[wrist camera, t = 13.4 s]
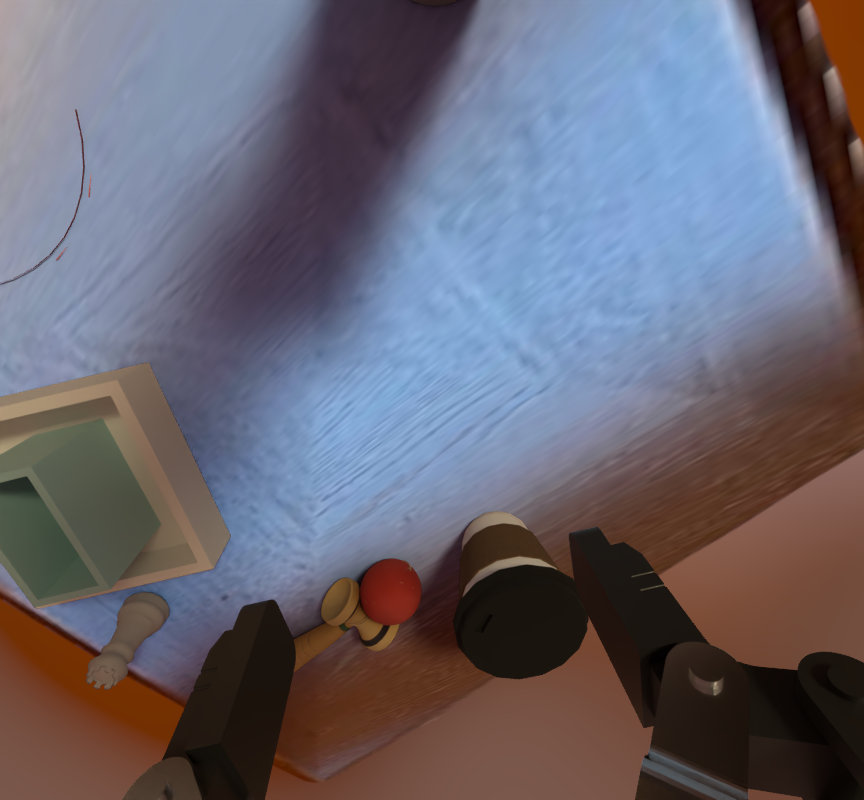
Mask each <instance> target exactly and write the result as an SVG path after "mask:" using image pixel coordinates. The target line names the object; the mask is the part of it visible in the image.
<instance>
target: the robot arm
mask: <svg viewBox="0 0 864 800" xmlns="http://www.w3.org/2000/svg"><path fill="white" fill-rule="evenodd" d="M412 1H414V2H416V3H418V4H424V5H430V6H438V5H448V4H450V3H453V2H456V1H458V0H412ZM569 542H570V550H571V558H572V566H573V574H574V580H575V584H576V588H577V591H578V594H579V597H580V599H581V601H582V603H583V606H584V608H585V610H586V612H587V614H588V616H589V618H590V620H591V622H592V624H593V626H594V628H595V630H596V632H597V634H598V636H599V638H600V640H601V642H602V644H603V646H604V648H605V650H606V652H607V654H608V656H609V658H610V661H611V663H612V664H613V667H614V668H615V670H616V673H617V675H618V677H619V679H620V681H621V683H622V685H623V687H624V689H625V691H626V693H627V695H628V697H629V699H630V701H631V703H632V705H633V707H634V709H635V711H636V713H637V715H638V718H639V720H640V722H641V724H642V726H643V728H647V727H651V726H654V728H653V733H652V740H651V745H650V749H649V753H648V755H646V756H645V757H644V759H643V763H642V767H641V771H640V776H639V781H638V786H637V792H636V797H635V800H748V789H754V790H761V791H767V792H773V793H779V794H785V795H791V796H798V797H802V799H803V800H864V663H863V662H861V661H859V660H857V659H854V658H852V657H849V656H846V655H842V654H838V653H832V652H816V653H812V654H809V655H807V656H805V657H804V658H803V659H802V660H801V661H800V663H799V666H798V670H789V669H778V668H767V667H758V666H751V665H747V664H744V663H741V662H738V661H736V660H735V659H734V658H733V657H732V656H731V655H729V654H728V653H727V652H725V651H724V650H722V649H719V648H718V647H715V646H713V645H710V644H709V643H708V642H707V640H706V639H705V638H704V637H703V636H702V634H701V633H700V631H699V630H698V629H697V627H696V626H695V625H694V623H692V621H691V619H690V618H689V617H688V615H687V614H686V613H685V611H684V610H683V609H682V607H681V606H680V605H679V603H678V602H677V600H676V599H675V598H674V596H673V595H672V594H671V592H670V591H669V590H668V588H667V587H665V586H664V583H663V582H662V580H661V579H660V578H659V576H658V575H657V574H656V573H655V572H654V570H653V568H652V567H651V566H650V564H649V563H648V561H647V560H646V559H645V557H644V556H643V555H642V554H641V553H640V552H638V551H637V550H635V549H633V548H632V547H630V546H629V545H627V544H626V543H624V542H623V543H618V544H614V545H610V543H609V542H608V540H607V539H606V537H605V536H604V534H603V533H602V531H601V530H600V529H599V528H598V527H594V528H590V529H585V530H581V531H576V532H572V533H570V534H569ZM295 662H296V649H295V643H294V640H293V637H292V635H291V633H290V631H289V628H288V626H287V624H286V622H285V620H284V618H283V615H282V613H281V611H280V609H279V607H278V605H277V603H276V601H274V600H267V601H263V602H258V603H254V604H250V605H245V606H244V607H242V609H241V611H240V613H239V615H238V618H237V620H236V623H235V625H234V628H233V630H229V631H225V632H224V633H223V634H222V636H221V637H220V638H219V639H218V641H217V642H216V643H215V644H214V646H213V647H212V648H211V650H210V651H209V653H208V656H207V658H206V660H205V662H204V665H203V667H202V669H201V675H199V676H198V679H197V681H196V683H195V686H194V691H193V692H191V695H190V697H189V699H188V702H187V704H186V706H185V709H184V711H183V713H182V716H181V718H180V720H179V722H178V725H177V727H176V729H175V732H174V734H173V736H172V739H171V741H170V743H169V745H168V748H167V750H166V753H165V755H164V757H163V759H162V761H160V762H158V763H157V764H155V765H153V766H152V767H151V768H149V769H148V770H147V771H146V772H144V773H143V774H142V775H141V776H140V777H139V778H138V779H137V780H136V781H135V782H134V783H133V785H132V786H131V787H130V788H129V790H128V791H127V793H126V794H125V796H124V798H123V799H122V800H265V796H266V792H267V787H268V783H269V778H270V774H271V769H272V765H273V761H274V756H275V752H276V747H277V743H278V739H279V734H280V730H281V725H282V721H283V716H284V712H285V708H286V703H287V699H288V694H289V690H290V686H291V681H292V677H293V672H294V668H295Z"/></svg>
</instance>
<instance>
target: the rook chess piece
mask: <svg viewBox="0 0 864 800" xmlns="http://www.w3.org/2000/svg"><path fill="white" fill-rule="evenodd" d="M168 616H169V607H168V605H167V603H166V601H165V600H164V599H163V598H162V597H161V596H160V595H157V594H155V593H152V592H141V593H136V594H133V595H131V596H130V597H128V598H126V600H125V601H124V603H123V606H122V607H121V608H120V610H119V612H118V615H117V617H118V621H117V628H116V631H115V633H114V635H113V637H112V639H111V640H110V642H109V643H108V644H107V645H105V646H104V647H103V648H102V650H101V655H100V656H97V657H95V658H94V659H92V660H91V661H90V662H89V664H88V671H89V672H88V673H87V675H86V676H87V677H88V678H87V680H86V681H87V683H88V684H90V683H92V681H95V682H96V684H95V685H94V688H96V689H99V688H100V687H101V685H102V684H103V685H105V687H104V689H105V690H106V689H111V687H112V686H115V685H116V683H117V682H118V681H120V680H122V679H124V678H125V677H126V675H127V674H128V667H127V664H128V663H130V662H132V660H133V659H134V653H135V651H136V650H137V648H138V647H139V646H140V645H141V643H142V642H143V641H144V640H145V639H146V638H147V637H149V636H151V635H152V634H153V633H155V632H156V631H158V630H159V629H160V628H161V627H162V625H163V624H164V622H165V621H166V619H167V618H168Z"/></svg>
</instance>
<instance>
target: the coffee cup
mask: <svg viewBox="0 0 864 800" xmlns="http://www.w3.org/2000/svg"><path fill="white" fill-rule="evenodd" d="M587 623H588V614H587V612H586V610H585V608H584V606H583V603H582V601H581V599H580V597H579V594H578V591H577V588H576V584H575V581H574V580H573V578H571V577H569V576H567V575H565V574H563V573H562V572H561V571H560V570H559V568H558V567H557V566H556V564H555V563H554V561H553V560H552V559H551V557H550V556H549V555H548V553H547V552H546V551H545V549H544V548H543V546H542V545H541V544H540V542H539V541H538V540H537V538H536V537H535V536H534V534H533V533H532V532H531V531H529V530H528V529H527V528H526V526H525V525H524V524H523V522H522V521H521V520H520V519H518V518H516V517H515V516H513V515H511V514H509V513H506V512H499V511H494V512H489V513H484V514H482V515H481V516H479V517H477V518H475V519H474V520H473V521H472V523H471V524H470V525H469V526H468V528H467V529H466V531H465V534H464V538H463V541H462V554H461V557H460V579H459V603H458V607H457V610H456V613H455V616H454V620H453V625H454V630H455V635H456V639H457V644H458V647H459V648H460V649H461V651H462V652H463V653H464V654H465V655H466V656H467V658H468V659H469V660H470V661H471V662H472V663H473V664H474V665H475V667H476V668H478V669H480V670H482V671H484V672H486V673H489V674H491V675H493V676H495V677H500V678H511V679H523V678H528V677H533V676H539V675H543V674H545V673H547V672H549V671H551V670H552V669H555V668H557V667H559V666H561V665H563V664H564V663H565V662H566V661H567V660H568V659H569V658H570V657H571V656H572V655H573V654H574V653H575V652H576V651H577V650H578V649H579V648H580V645H581V643H582V641H583V639H584V636H585V634H586V632H587Z"/></svg>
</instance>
